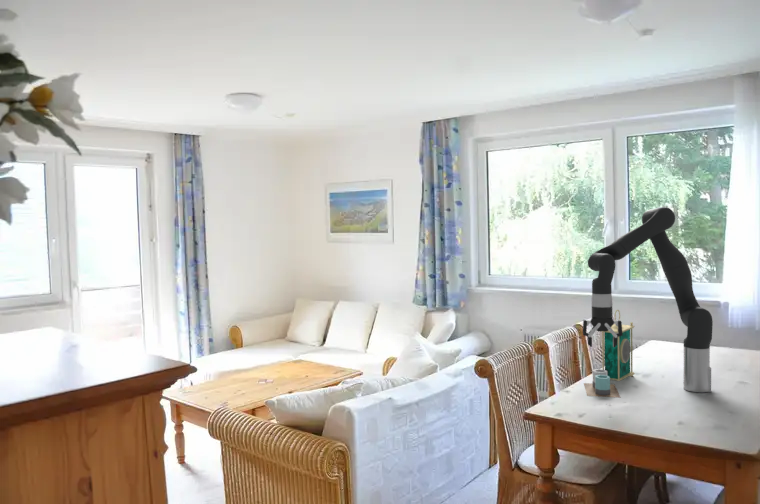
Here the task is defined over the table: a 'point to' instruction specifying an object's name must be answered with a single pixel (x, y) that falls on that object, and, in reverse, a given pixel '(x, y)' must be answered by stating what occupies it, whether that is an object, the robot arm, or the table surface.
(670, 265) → the robot arm
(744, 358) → the table surface
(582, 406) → the table surface
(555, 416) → the table surface
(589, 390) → the brown peg stand
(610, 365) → the carriage clock
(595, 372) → the grey sleeve
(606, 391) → the teal sleeve
